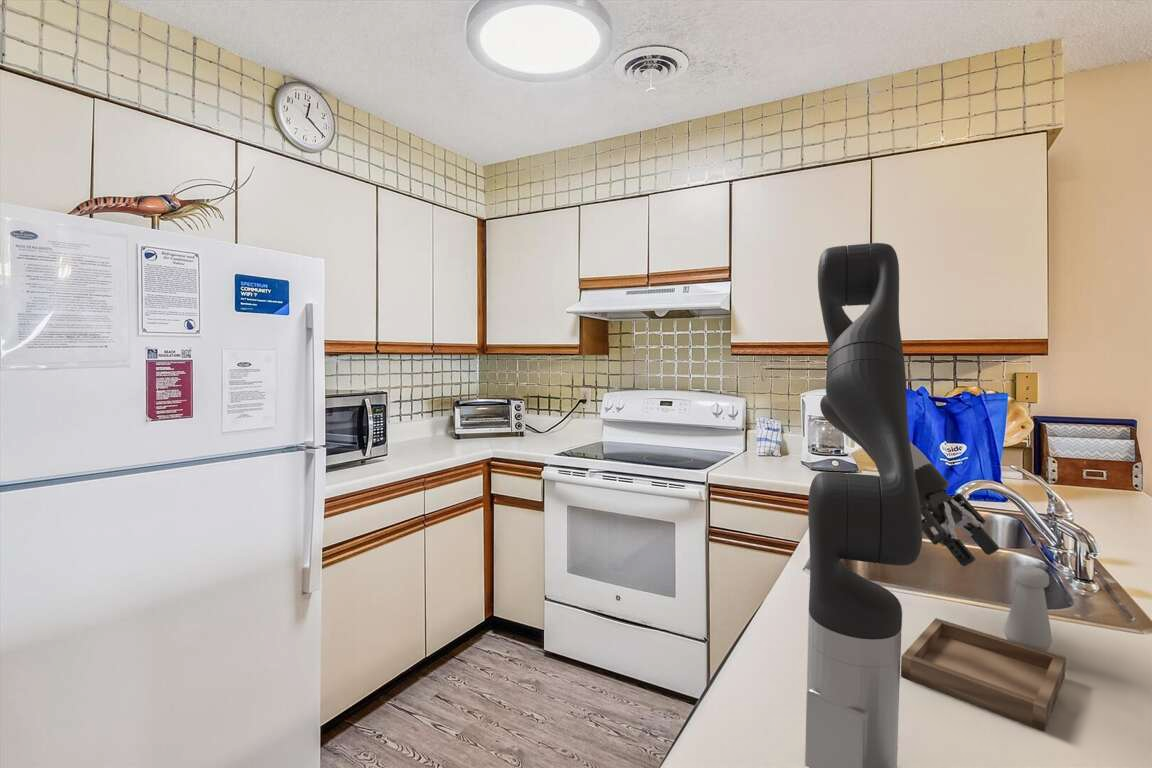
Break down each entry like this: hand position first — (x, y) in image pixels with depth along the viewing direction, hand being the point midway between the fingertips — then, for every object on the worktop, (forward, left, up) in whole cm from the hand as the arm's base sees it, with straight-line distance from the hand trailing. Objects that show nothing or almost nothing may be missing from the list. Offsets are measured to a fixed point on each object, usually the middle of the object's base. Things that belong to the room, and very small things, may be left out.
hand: (982, 557), depth 92 cm
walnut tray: (-14, -3, -13) cm, 19 cm away
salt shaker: (-1, -6, -13) cm, 14 cm away
